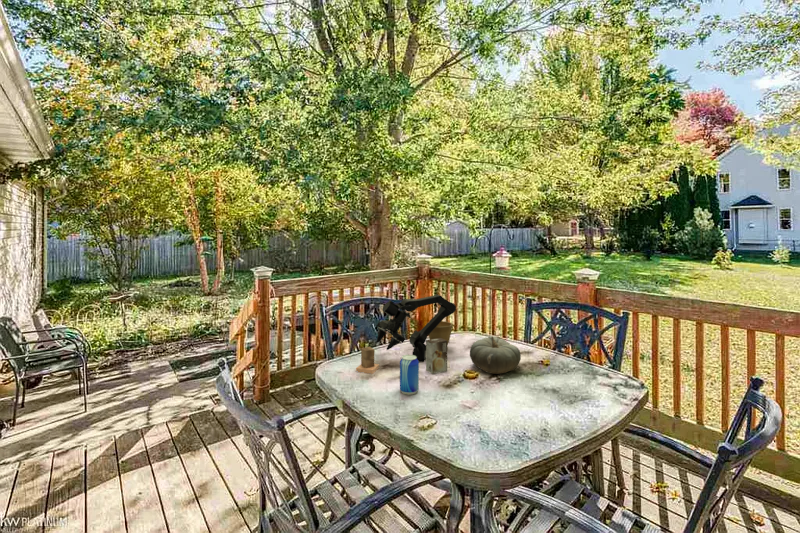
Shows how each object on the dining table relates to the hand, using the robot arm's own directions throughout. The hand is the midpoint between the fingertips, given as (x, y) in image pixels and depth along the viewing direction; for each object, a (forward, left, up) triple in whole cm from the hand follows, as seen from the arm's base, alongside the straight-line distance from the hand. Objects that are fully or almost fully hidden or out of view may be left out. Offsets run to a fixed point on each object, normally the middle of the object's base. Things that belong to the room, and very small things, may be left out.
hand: (382, 346), depth 219 cm
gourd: (-57, -14, -11) cm, 60 cm away
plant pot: (-22, -34, -11) cm, 42 cm away
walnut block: (+4, +9, -8) cm, 13 cm away
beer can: (-24, +28, -11) cm, 38 cm away
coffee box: (-29, -1, -11) cm, 31 cm away
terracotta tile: (+4, +9, -11) cm, 15 cm away
